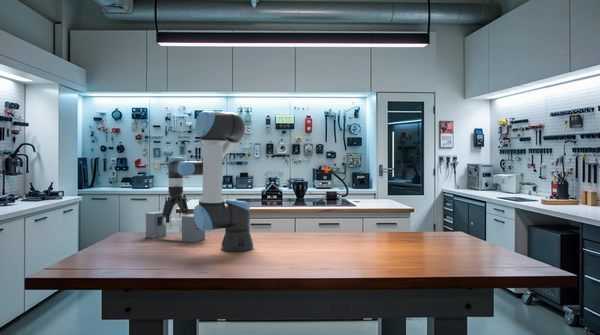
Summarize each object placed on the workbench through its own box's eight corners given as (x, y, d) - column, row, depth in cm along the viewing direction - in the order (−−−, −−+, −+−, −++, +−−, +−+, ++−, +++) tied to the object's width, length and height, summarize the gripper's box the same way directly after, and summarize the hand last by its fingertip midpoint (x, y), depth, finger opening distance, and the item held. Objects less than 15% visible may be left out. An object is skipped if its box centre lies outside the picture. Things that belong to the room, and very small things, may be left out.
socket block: (166, 235, 233) (165, 211, 232) (154, 238, 225) (154, 213, 224) (157, 234, 235) (157, 211, 235) (145, 237, 227) (145, 213, 227)
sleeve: (205, 239, 223) (205, 214, 222) (194, 242, 214) (194, 216, 214) (192, 237, 226) (192, 213, 225) (181, 240, 218) (181, 215, 217)
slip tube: (205, 228, 220) (205, 219, 219) (200, 229, 216) (200, 221, 215) (167, 224, 229) (167, 216, 229) (161, 226, 225) (161, 218, 225)
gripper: (184, 184, 236) (184, 223, 237) (154, 187, 215) (155, 230, 215) (195, 184, 233) (195, 224, 234) (166, 187, 212) (166, 231, 212)
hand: (175, 227), depth 224 cm, fingers open, 11 cm apart
